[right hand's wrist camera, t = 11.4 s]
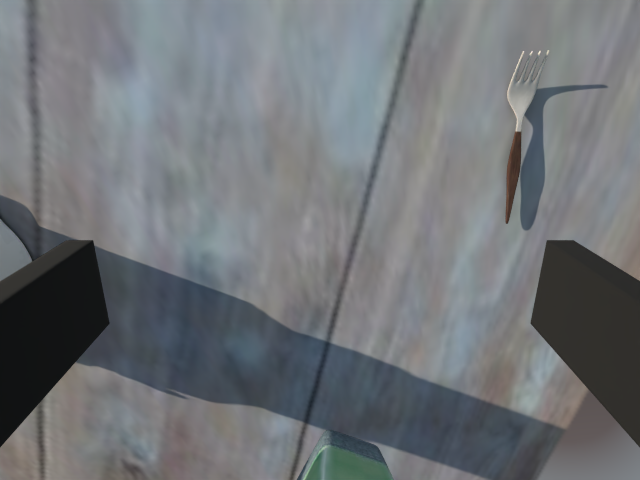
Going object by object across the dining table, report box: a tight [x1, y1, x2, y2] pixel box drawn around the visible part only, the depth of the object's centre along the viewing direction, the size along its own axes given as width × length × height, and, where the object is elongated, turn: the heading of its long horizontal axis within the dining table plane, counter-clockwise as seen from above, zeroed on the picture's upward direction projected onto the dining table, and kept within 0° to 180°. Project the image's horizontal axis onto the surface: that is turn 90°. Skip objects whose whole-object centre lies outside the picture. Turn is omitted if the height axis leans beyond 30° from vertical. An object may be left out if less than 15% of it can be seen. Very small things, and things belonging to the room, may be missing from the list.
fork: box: [506, 50, 549, 224], centre depth 40 cm, size 3×16×2 cm, turn 2°
